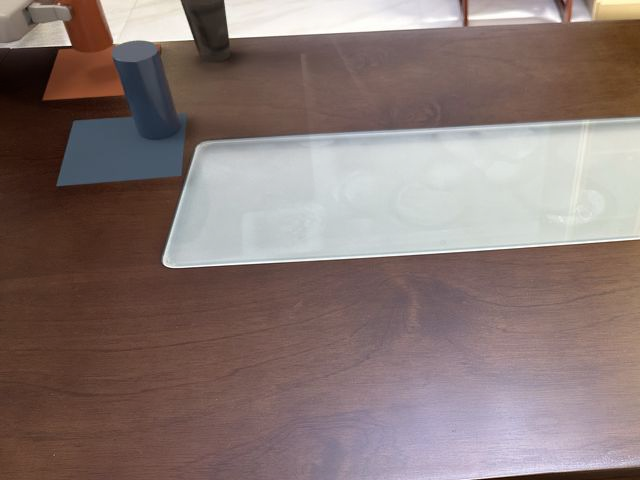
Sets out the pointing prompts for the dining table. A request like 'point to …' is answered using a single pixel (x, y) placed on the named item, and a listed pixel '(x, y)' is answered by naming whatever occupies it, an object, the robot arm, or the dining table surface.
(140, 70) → the navy blue cylinder
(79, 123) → the blue mat
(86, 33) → the orange cylinder
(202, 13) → the beverage cup
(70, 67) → the terracotta mat
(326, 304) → the dining table surface
